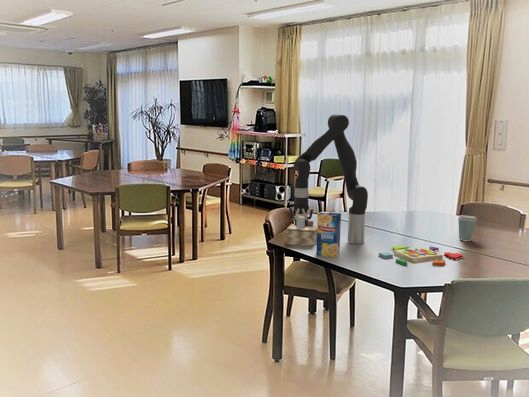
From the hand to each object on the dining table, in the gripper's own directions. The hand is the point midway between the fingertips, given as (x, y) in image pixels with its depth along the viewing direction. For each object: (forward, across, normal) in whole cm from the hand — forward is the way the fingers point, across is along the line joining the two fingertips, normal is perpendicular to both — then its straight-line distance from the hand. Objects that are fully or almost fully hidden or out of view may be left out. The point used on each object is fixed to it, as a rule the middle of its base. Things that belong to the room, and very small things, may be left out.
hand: (301, 226), depth 274 cm
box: (+12, -2, +10) cm, 16 cm away
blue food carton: (+12, +16, -9) cm, 23 cm away
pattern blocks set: (+14, +62, +3) cm, 64 cm away
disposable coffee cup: (+15, +90, +48) cm, 102 cm away
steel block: (+1, 0, 0) cm, 1 cm away
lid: (+4, -1, +10) cm, 11 cm away
